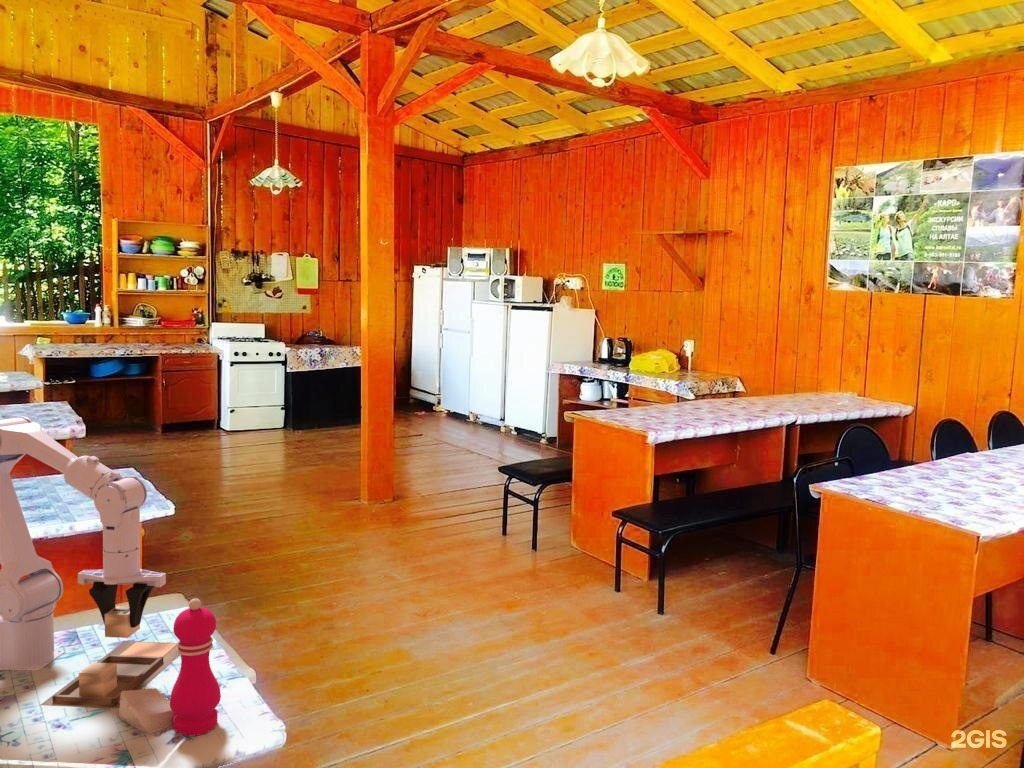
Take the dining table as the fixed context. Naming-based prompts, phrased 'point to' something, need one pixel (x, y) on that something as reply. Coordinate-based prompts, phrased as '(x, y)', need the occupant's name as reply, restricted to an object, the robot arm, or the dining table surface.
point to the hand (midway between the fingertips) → (122, 624)
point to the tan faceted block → (146, 709)
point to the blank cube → (98, 679)
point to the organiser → (122, 673)
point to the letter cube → (119, 623)
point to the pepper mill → (195, 672)
